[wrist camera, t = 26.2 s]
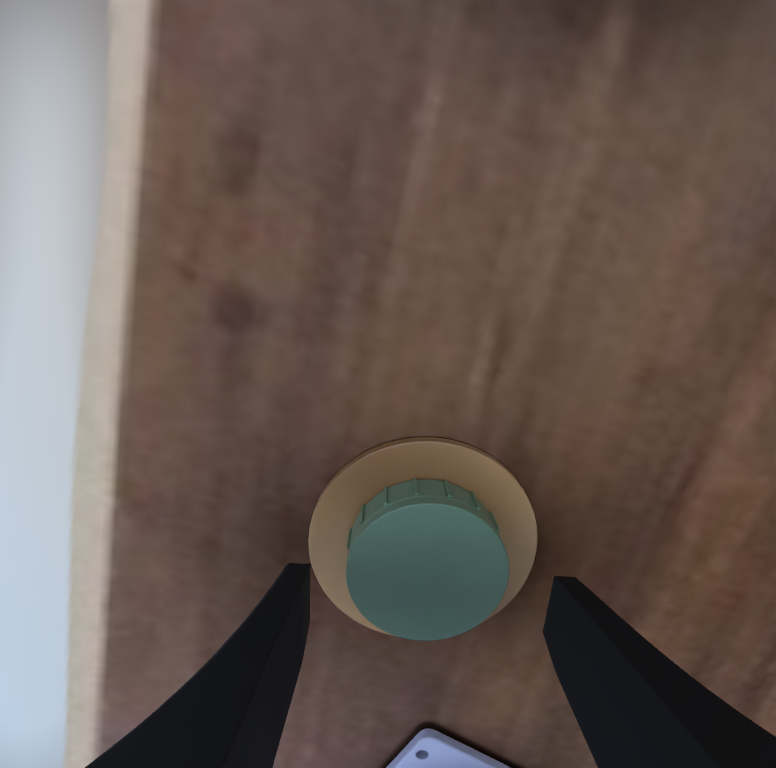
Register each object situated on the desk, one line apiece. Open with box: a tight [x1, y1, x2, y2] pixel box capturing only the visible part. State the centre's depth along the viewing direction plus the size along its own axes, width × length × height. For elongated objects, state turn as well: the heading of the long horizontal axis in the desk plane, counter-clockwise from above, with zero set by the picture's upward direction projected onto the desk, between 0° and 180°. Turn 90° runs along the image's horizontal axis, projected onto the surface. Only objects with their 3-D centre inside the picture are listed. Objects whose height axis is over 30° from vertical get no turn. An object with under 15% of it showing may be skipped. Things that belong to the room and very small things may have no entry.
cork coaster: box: [308, 437, 538, 636], centre depth 14 cm, size 8×8×1 cm
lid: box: [346, 478, 510, 641], centre depth 13 cm, size 5×5×2 cm
